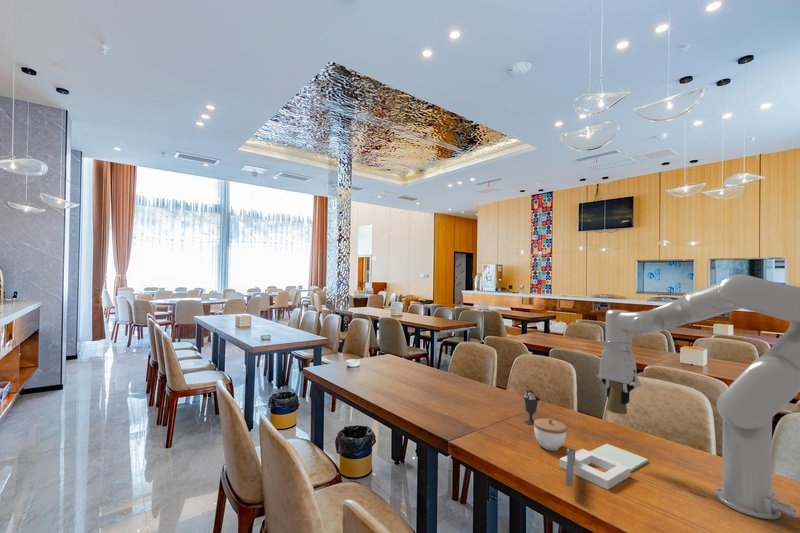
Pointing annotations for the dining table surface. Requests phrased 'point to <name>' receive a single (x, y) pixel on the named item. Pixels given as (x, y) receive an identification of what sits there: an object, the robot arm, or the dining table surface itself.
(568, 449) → the retention bar
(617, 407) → the olive tapered cylinder
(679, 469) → the dining table surface
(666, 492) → the dining table surface
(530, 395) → the sundae
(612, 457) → the sage mat
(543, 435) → the lidded jar
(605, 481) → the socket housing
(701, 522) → the dining table surface
